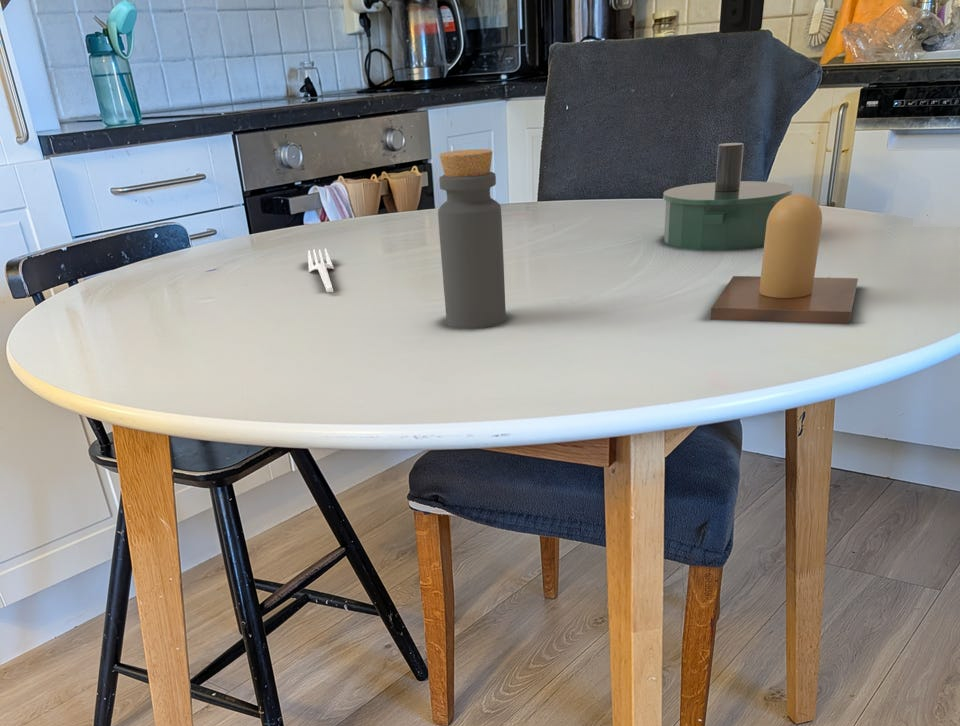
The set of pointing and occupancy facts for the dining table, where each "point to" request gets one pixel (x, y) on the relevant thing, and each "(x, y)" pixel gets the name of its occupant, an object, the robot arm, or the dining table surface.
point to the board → (786, 302)
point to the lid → (728, 184)
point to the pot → (717, 225)
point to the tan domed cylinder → (791, 247)
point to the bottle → (471, 241)
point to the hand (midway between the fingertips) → (741, 31)
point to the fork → (321, 268)
